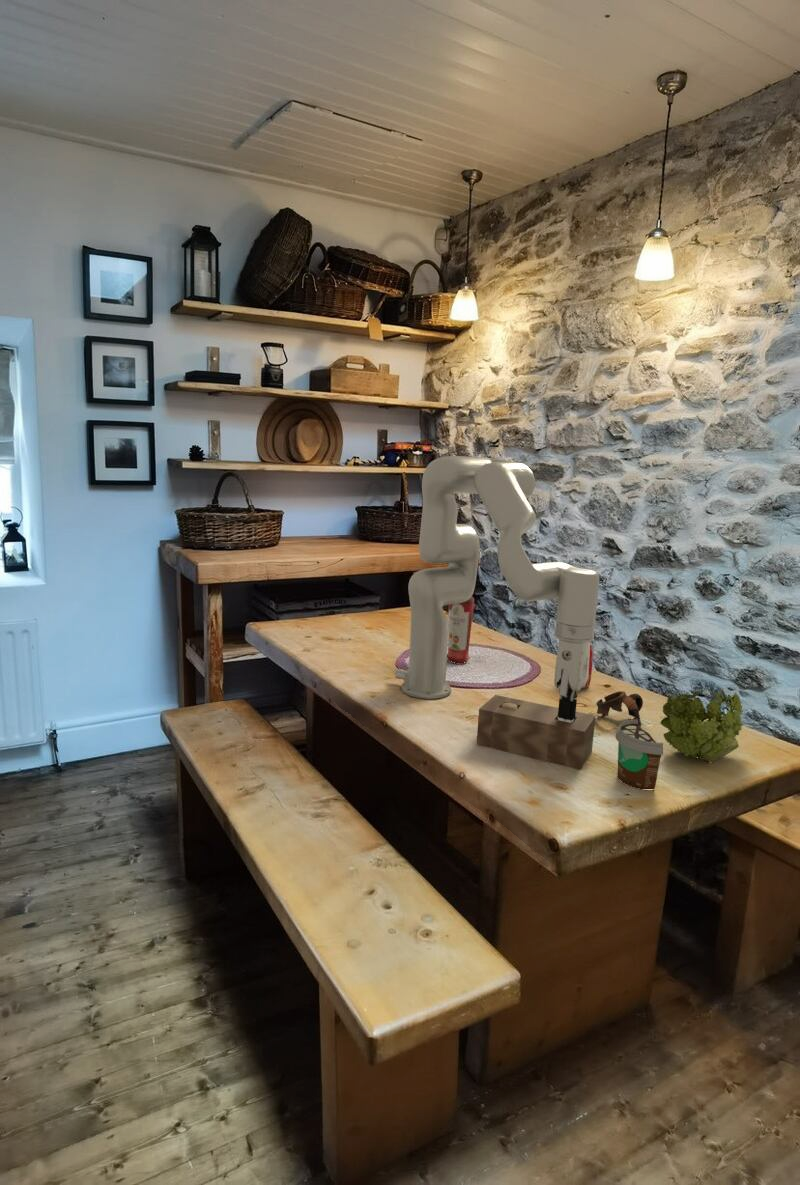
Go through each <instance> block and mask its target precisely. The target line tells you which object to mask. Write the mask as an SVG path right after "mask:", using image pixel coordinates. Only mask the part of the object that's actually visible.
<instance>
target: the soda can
mask: <svg viewBox="0 0 800 1185" xmlns="http://www.w3.org/2000/svg"><path fill="white" fill-rule="evenodd" d="M594 653H595V651H594V647H593V643H592V641H591V642H590V658H589V675H588V680H587V682H586V683H585V684H584V686H583V687H582V688H581V689H585V688H587V687H589V686H590V685H591V680H592V675H593V674H592V671H593V662H594Z"/></svg>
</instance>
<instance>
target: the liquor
mask: <svg viewBox="0 0 800 1185" xmlns="http://www.w3.org/2000/svg"><path fill="white" fill-rule="evenodd" d="M474 606H475V598H474V597H473V595H472V596H471V597H470V599H469V600H467V601H465V602H463V603H457V604H451V605H448V624H449V629H448V647H447V660H450V661H452V662H455V663H454V664H456V663H463V664H465V663H466V662H468V661H469V660H470V659H471V658H470V655H469V652H470V641H471V630H472V624H473V615H474V609H475V608H474ZM450 661H449V662H450ZM452 662H451V663H452ZM464 662H465V663H464Z"/></svg>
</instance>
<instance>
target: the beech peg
mask: <svg viewBox="0 0 800 1185" xmlns="http://www.w3.org/2000/svg"><path fill="white" fill-rule="evenodd" d="M502 708H504V709H509V710H513V711H516V710H517V705H516V704H513V703H503V704H502Z"/></svg>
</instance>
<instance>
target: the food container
mask: <svg viewBox="0 0 800 1185" xmlns="http://www.w3.org/2000/svg"><path fill="white" fill-rule="evenodd" d="M614 737H615V739H616V741H618V746H617V747H618V748H617V750H618V752H617V772H616V773H617V774H616V775H618V776H617V778H618V780H619V779H620V780H621V781H622V782H621V781H620V780H619V781H620V782H621V783H623V784H624V783H625V785H626V784H627V785H626V786H628V785H629V786H628V787H631V786H632V787H631V788H633V787H635V788H634V789H637V788H640V789H639V790H641V789H656V783H657V780H658V774H659V768H660V763H661V756H663V755H664V743H663V742H656V741H655V740H654V738H653V737H652V736H651V734H650V733H649V732H647V731H646V730H644V729H643V728H642V727H641V726H638V720H632V719H628V720H623V722H621V723H619V726H618V727H617V729H616V733H615V736H614Z"/></svg>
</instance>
